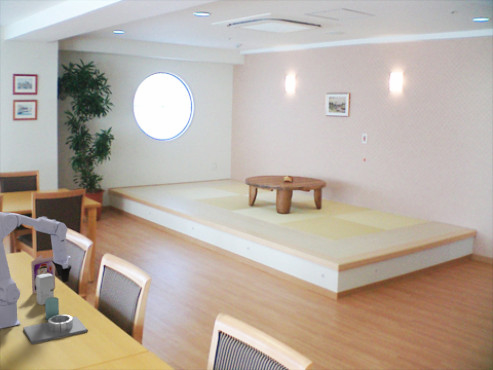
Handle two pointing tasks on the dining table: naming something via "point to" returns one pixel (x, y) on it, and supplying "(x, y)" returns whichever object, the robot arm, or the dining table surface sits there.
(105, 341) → the dining table surface
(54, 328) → the grey segmented ring
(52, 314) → the plug
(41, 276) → the skincare box
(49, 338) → the board
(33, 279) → the greeting card
